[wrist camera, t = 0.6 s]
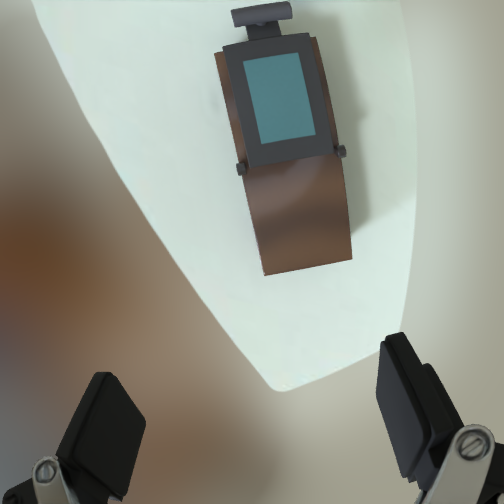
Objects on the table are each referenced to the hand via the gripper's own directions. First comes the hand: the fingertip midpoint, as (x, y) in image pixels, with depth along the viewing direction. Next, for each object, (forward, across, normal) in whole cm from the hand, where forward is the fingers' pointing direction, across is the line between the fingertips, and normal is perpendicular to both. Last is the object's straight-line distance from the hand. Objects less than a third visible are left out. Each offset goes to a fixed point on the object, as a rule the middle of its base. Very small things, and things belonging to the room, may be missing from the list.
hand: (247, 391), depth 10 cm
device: (+23, -4, -12) cm, 26 cm away
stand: (+28, -4, -4) cm, 29 cm away
